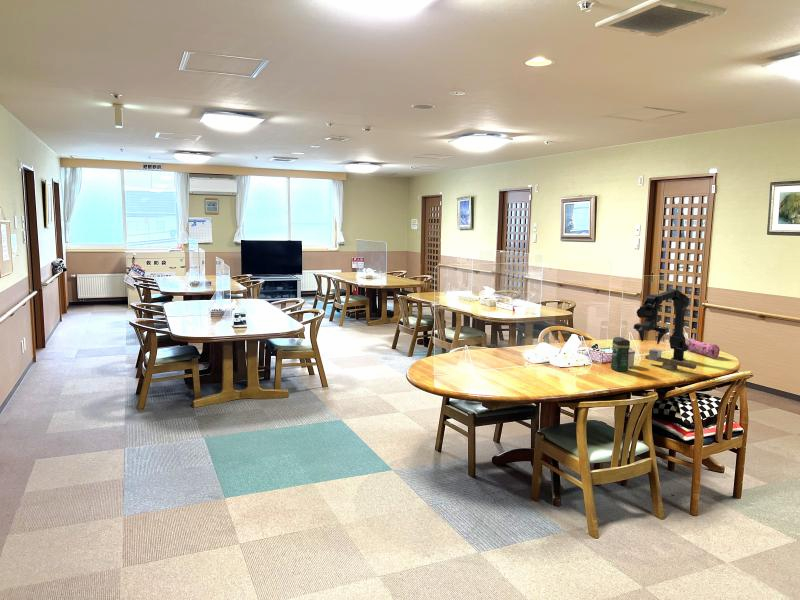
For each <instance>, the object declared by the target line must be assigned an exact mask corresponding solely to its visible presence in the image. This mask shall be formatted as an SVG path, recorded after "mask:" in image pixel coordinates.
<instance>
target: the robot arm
mask: <svg viewBox="0 0 800 600" xmlns="http://www.w3.org/2000/svg"><path fill="white" fill-rule="evenodd" d="M667 300H672V303H673V307H674V309H675V315H674V324H673V325H674V327H673V333H672V335H670V336H669V347H670V349H672V350H673V355H672V356H673V357H670V359H671V360H676V361H681V362H684V361H685V360H686V358H685V356H684V354H685V352H687V351H688V346H687V342H686V336H685V335H684V325H685V312H686V309H687V308H688V307H689V304H690V298H689V297H688V296H687V295H686V294H684V293H683V292H681V291H680V290H679V289H675V288H672V289H671V288H670V289H669V290H667V291H663V292H661V293H657V294H654V293H653V294H647V296H646V297H645V300H644V301H643V303H642V304H641V305H640V306H639V308H638V309H637V310H636V316H637V317H638V318H640V319H643V318H644V319H645V320H644V321H643V323H640V322H637V323H635V324H634V325H633V329H634V330H635V331H637V332H638V334H639V337H640V341H641V342H643V341H644V339H645V338H644V337H645V331H646V332H650V331H656V332H658V333H657V340H656V344H657V345H659V344H660V342H661V340H662V339H663V337H664V335H667V334H668V333H670V328H669V327H665V326H660V327H658V320H659V317H658V314H659V310H660V309H661V306H660V305H661V304H663V302H664V301H667ZM688 352H689V351H688Z"/></svg>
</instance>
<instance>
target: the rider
mask: <svg viewBox="0 0 800 600" xmlns="http://www.w3.org/2000/svg"><path fill="white" fill-rule="evenodd" d="M648 351H649V352H648V355H649V361H653V360H654V361H653V362H658V361H657V359H658V358H659V357H661V358H662V354H663V353H662V351H663V350H662V349H658V348H651V349H649V350H648Z"/></svg>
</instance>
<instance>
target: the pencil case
mask: <svg viewBox="0 0 800 600" xmlns="http://www.w3.org/2000/svg"><path fill="white" fill-rule="evenodd" d="M686 344H687V346H688V352H691V353H696V354H699V355H700V354H701V355H704V356H707V357H709V358H711V359H715V358H718V357H719V355H720V352H721V351H720V350H721V349H720V346H719V345H717V344H712V343H708V342H702V341H697V340H696V339H695V338H693V337H690V338H688V340H687V341H686Z"/></svg>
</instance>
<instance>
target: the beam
mask: <svg viewBox="0 0 800 600" xmlns="http://www.w3.org/2000/svg"><path fill="white" fill-rule="evenodd" d="M644 357H645V358H644V360H649V354H646V355H645V356H644ZM649 361H650V360H649ZM652 361H653V362H655V361H654V360H652ZM656 362H659V363H662V365H661V369H664V370H668V369H669V371H675V370H677V369H678V367H682V368H688V369H691V370H695V369H697V367H698V366H697V364H695V363H689V362H684V361H679V360H674V359H671V358H665V357H662V356H661V357H659V358H658V359H657V361H656ZM674 369H675V370H674Z"/></svg>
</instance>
